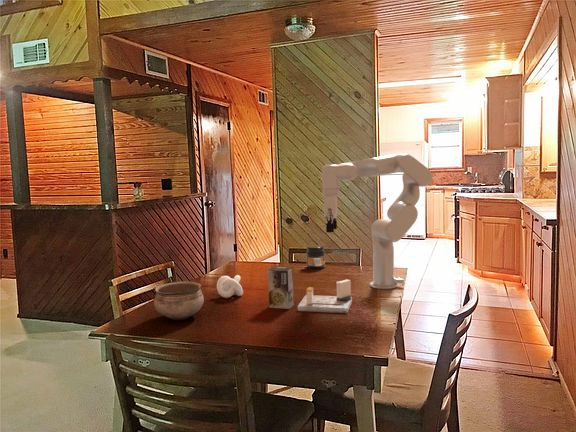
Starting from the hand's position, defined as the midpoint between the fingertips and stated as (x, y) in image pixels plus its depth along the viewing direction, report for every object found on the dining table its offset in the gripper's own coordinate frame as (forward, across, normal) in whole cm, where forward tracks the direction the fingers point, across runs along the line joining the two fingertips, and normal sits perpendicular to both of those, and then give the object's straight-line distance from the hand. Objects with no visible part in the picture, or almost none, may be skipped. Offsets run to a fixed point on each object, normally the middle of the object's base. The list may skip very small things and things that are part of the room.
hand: (331, 230), depth 214 cm
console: (+28, +21, 0) cm, 35 cm away
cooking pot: (+28, +44, -54) cm, 75 cm away
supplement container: (+28, -50, -17) cm, 60 cm away
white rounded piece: (+29, +12, -44) cm, 54 cm away
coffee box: (+28, +24, -18) cm, 41 cm away
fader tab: (+26, +25, -6) cm, 36 cm away
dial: (+26, +16, +7) cm, 31 cm away
